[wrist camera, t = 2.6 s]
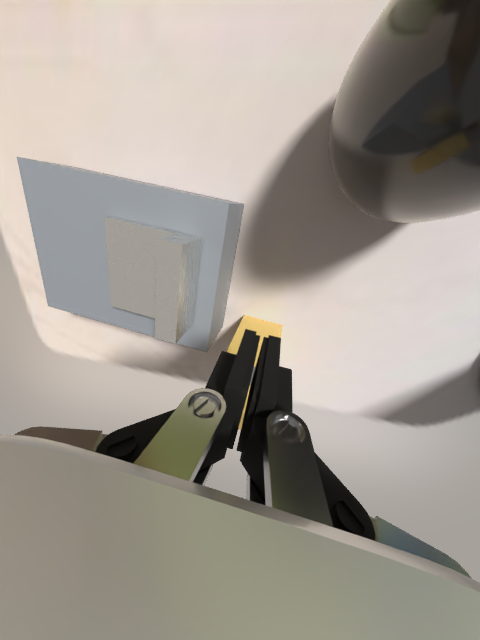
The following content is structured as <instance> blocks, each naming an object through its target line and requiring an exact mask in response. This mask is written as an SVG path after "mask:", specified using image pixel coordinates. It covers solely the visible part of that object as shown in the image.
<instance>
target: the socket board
mask: <svg viewBox="0 0 480 640" xmlns="http://www.w3.org/2000/svg"><path fill="white" fill-rule="evenodd" d="M17 160H18V165H19V170H20V174H21V179H22V184H23V189H24V193H25V198H26V203H27V208H28V212H29V217H30V222H31V227H32V231H33V236H34V241H35V246H36V250H37V255H38V260H39V265H40V269H41V274H42V279H43V284H44V288H45V293H46V298H47V303H48V306H50V307H53V308H57V309H60V310H63V311H67V312H70V313H74V314H77V315H81V316H84V317H88V318H91V319H94V320H98V321H101V322H105V323H108V324H112V325H115V326H119V327H122V328H125V329H129V330H132V331H136V332H139V333H143V334H146V335H150V336H153V337H155V318H151V317H148V316H144V315H141V314H137V313H134V312H130V311H126V310H123V309H119V308H116V307H112V306H111V299H110V285H109V272H108V258H107V245H106V231H105V218H104V217H116V218H121V219H125V220H129V221H133V222H137V223H142V224H146V225H150V226H154V227H158V228H163V229H167V230H171V231H175V232H179V233H184V234H188V235H192V236H196V237H200V238H202V247H201V256H200V265H199V275H198V284H197V293H196V302H195V311H194V320H193V325H192V326H191V327H190V328H189V329H188V330H187V331H186V333H185V334H184V335H183V336H182V337H181V338H180V339H179V340H178V342H177V344H181V345H184V346H187V347H191V348H194V349H198V350H201V351H205V352H207V351H208V349H209V348H210V346H211V345H212V343H213V341H214V340H215V338H216V336H217V335H218V333H219V332H220V330H221V328H222V326H223V321H224V315H225V309H226V304H227V298H228V292H229V287H230V281H231V276H232V270H233V264H234V259H235V253H236V247H237V242H238V236H239V230H240V225H241V219H242V213H243V208H244V204H242V203H237V202H232V201H228V200H223V199H219V198H214V197H209V196H205V195H200V194H196V193H191V192H187V191H182V190H177V189H173V188H168V187H164V186H159V185H154V184H150V183H145V182H141V181H136V180H131V179H127V178H122V177H118V176H113V175H109V174H104V173H99V172H95V171H90V170H86V169H81V168H76V167H71V166H66V165H60V164H54V163H49V162H43V161H37V160H32V159H26V158H20V157H17Z"/></svg>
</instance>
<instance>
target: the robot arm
mask: <svg viewBox="0 0 480 640" xmlns="http://www.w3.org/2000/svg"><path fill="white" fill-rule="evenodd" d="M256 333H257V332H256V331H252V330H248V329H245V332H244V335H243V337H242V340H241V343H240V346H239V349H238V352H237V355H236V354H232V353H228V352H224V351H222V352H221V354H220V357H219V359H218V361H217V363H216V365H215V368H214V370H213V372H212V374H211V376H210V378H209V381H208V383H207V385H206V387H205V388H204V389H203V388H201V389H196V390H194V391H192V392H190V393H189V394H188V395H187V396H186V397H185V398H184V399H183V401H182V402H181V403H180V405H179V406H178V407H177V408H176V409H175V410H172V411H169V412H166V413H164V414H161V415H158V416H155V417H152V418H149V419H147V420H144V421H141V422H138V423H135V424H133V425H130V426H127V427H124V428H121V429H118V430H116V431H114V432H112V433H110V434H109V435H106V434H102V431H97V430H83V429H69V428H55V427H31V428H28V429H25V430H22V431H20V432H18V433H16V434H15V435H0V640H480V583H479V582H477V581H475V580H473V579H472V578H471V577H470V576H469V574H468V573H467V572H466V571H465V570H464V569H463V568H462V567H461V566H460V564H459V563H458V562H456V561H455V560H454V559H452V558H451V557H449V556H448V555H447V554H445V553H443V552H441V551H439V550H438V549H436V548H434V547H432V546H430V545H428V544H427V543H425V542H423V541H421V540H419V539H418V538H416V537H414V536H412V535H410V534H409V533H407V532H405V531H403V530H401V529H399V528H398V527H396V526H394V525H392V524H390V523H388V522H387V521H385V520H383V519H381V518H379V517H378V516H376V517H375V518H374V519H373V518H372V517H370V516H369V515H368V513H367V512H366V511H365V509H364V508H363V506H362V505H361V504H360V503H359V502H358V501H357V499H356V498H355V497H354V496H353V495H352V494H351V493H350V492H349V490H347V488H346V487H345V486H344V485H343V484H342V483H341V481H340V480H339V479H338V478H337V477H336V476H335V475H334V474H333V472H332V471H331V470H330V469H329V468H328V467H327V466H326V465H325V463H324V462H323V461H322V460H321V459H320V458H319V457H318V456H317V454H316V453H315V452H314V449H313V445H312V441H311V437H310V433H309V430H308V428H307V425H306V424H305V423H304V421H303V420H302V419H301V418H300V417H298V416H297V415H295V414H294V413H292V370H291V369H288V368H284V367H280V366H279V359H280V343H281V338H279V337H275V336H271V335H269V337H268V338H267V337H264V338H263V342H262V345H261V349H260V353H259V356H258V360H257V363H256V367H255V371H254V374H253V378H252V381H251V377H252V372H253V368H254V363H255V359H256V354H257V349H258V345H259V340H260V336H259V335H256ZM250 382H251V386H250ZM249 386H250V390H249ZM248 391H249V395H248ZM247 395H248V399H247V404H246V409H245V414H244V418H243V423H242V428H241V433H240V437H239V442H238V446H237V451H240V452H242V453H241V459H240V461H241V462H242V465H243V466H244V468H245V469H246V471H247V473H248V475H247V491H246V494H247V495H246V497H247V498H246V499H243V498H240V497H237V496H234V495H231V494H227V493H224V492H221V491H218V490H215V489H212V488H209V487H206V486H204V485H205V483H206V481H207V478H208V476H209V474H210V472H211V470H212V467H213V464H214V463H216V462H217V461H219V460H221V459H223V458H225V454H226V450H227V448H230V449H233V445H234V442H235V438H236V435H237V431H238V427H239V424H240V420H241V417H242V413H243V409H244V406H245V402H246V398H247Z"/></svg>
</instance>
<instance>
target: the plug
mask: <svg viewBox="0 0 480 640" xmlns="http://www.w3.org/2000/svg"><path fill="white" fill-rule="evenodd" d="M245 329H248V330H252V331H256V332H257V333H256V335H259V336H260V340H259V345H258V349H257V354H256V359H255V363H254V368H253V372H252V377H251V381H252V378H253V374H254V371H255V367H256V363H257V360H258V356H259V353H260V349H261V345H262V342H263V338H264V337H267V338H268V337H269V335H271V336H275V337H279V338H281V332H282V325H279V324H276V323H272V322H268V321H264V320H261V319H257V318H253V317H249V316H246V315H244V316H243V318H242V320H241V323H240V325H239V327H238V329H237V331H236V333H235V335H234V337H233V339H232V341H231V343H230V345H229V347H228V350H227V352H228V353H232V354H236V355H237V352H238V349H239V346H240V343H241V340H242V337H243V335H244V332H245ZM250 386H251V382H250ZM250 386H249V390H250ZM248 395H249V391H248ZM248 395H247V398H246V402H245V406H244V409H243V413H242V417H241V420H240V424H239V427H238V429H240V430H241V428H242V423H243V418H244V414H245V409H246V404H247V399H248Z"/></svg>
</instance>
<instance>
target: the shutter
mask: <svg viewBox="0 0 480 640" xmlns="http://www.w3.org/2000/svg"><path fill="white" fill-rule="evenodd" d="M104 218H105V231H106V245H107V258H108V272H109V285H110V299H111V306H112V307H116V308H119V309H123V310H126V311H130V312H134V313H137V314H141V315H144V316H148V317H151V318H155V338H156V339H160V340H163V341H166V342H170V343H173V344H176V343H177V342H178V340H179V339H180V338H181V337H182V336H183V335H184V334H185V333H186V331H187V330H188V329H189V328H190V327H191V326H192V325H193V320H194V311H195V302H196V293H197V284H198V275H199V265H200V256H201V247H202V238H200V237H196V236H192V235H188V234H184V233H179V232H175V231H171V230H167V229H163V228H158V227H154V226H150V225H146V224H142V223H137V222H133V221H129V220H125V219H121V218H116V217H104Z"/></svg>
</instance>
